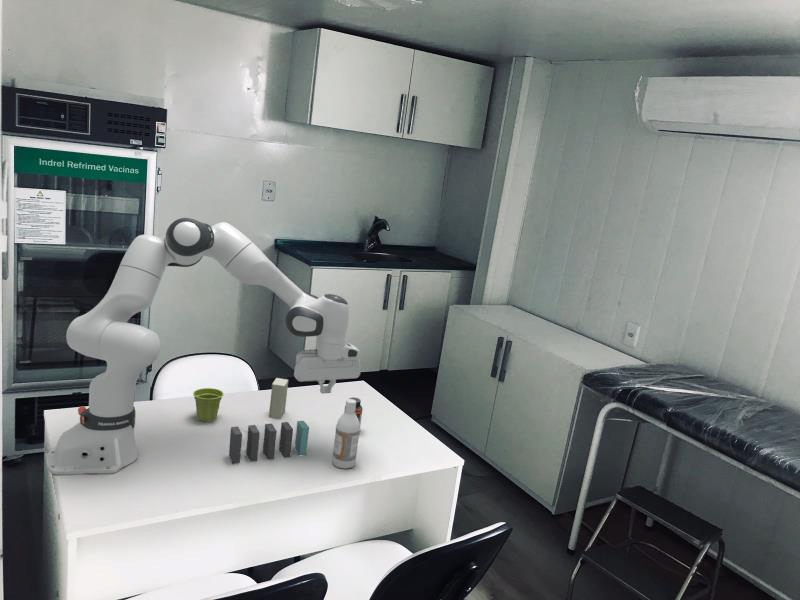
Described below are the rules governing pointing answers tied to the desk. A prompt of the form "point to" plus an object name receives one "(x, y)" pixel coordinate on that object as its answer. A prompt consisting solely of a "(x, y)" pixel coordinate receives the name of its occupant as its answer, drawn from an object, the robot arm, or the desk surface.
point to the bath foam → (346, 437)
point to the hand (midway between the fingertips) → (325, 392)
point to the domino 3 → (269, 441)
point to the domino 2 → (252, 443)
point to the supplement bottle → (357, 408)
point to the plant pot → (207, 403)
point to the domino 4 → (286, 439)
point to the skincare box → (278, 398)
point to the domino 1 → (235, 445)
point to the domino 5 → (301, 437)
